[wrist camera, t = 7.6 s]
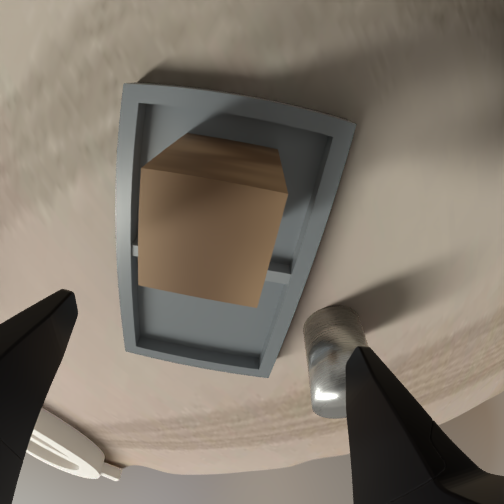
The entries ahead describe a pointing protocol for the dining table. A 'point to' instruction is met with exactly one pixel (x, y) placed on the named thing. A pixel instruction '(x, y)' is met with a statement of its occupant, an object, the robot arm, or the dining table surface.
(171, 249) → the walnut block
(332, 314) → the steel cylinder
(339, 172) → the tray
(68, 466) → the ring with crossbar
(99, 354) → the dining table surface
